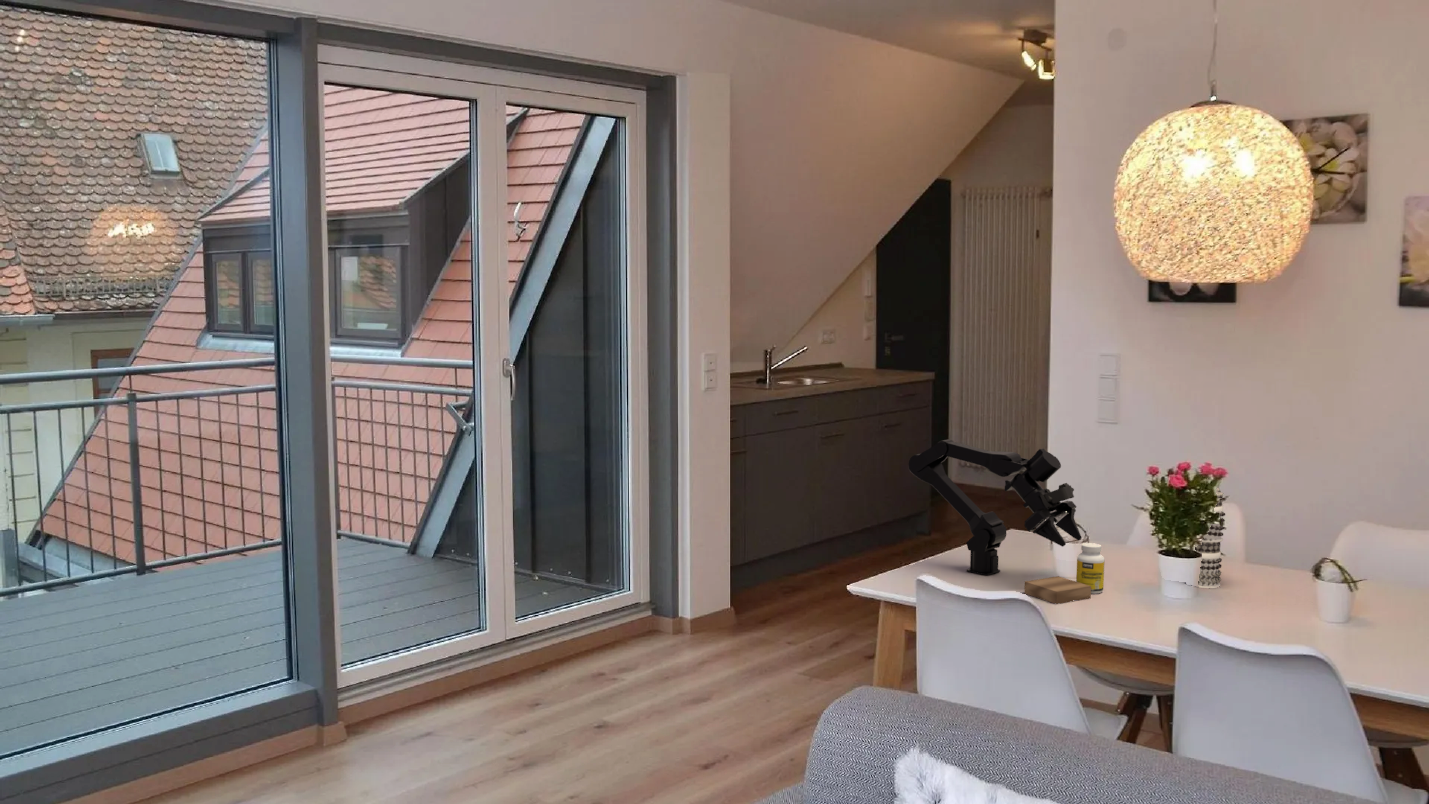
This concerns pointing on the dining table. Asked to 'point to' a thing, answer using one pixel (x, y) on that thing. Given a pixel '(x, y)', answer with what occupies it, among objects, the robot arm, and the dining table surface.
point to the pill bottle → (1091, 567)
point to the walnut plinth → (1057, 589)
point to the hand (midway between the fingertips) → (1072, 542)
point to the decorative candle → (1211, 551)
